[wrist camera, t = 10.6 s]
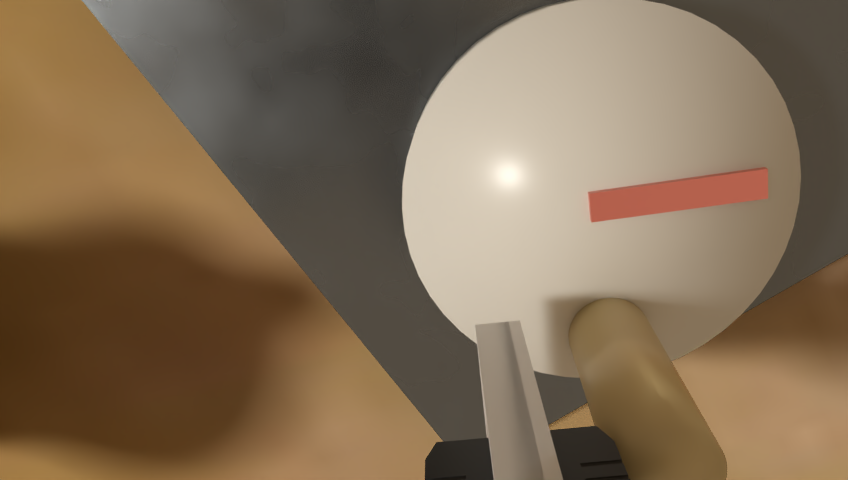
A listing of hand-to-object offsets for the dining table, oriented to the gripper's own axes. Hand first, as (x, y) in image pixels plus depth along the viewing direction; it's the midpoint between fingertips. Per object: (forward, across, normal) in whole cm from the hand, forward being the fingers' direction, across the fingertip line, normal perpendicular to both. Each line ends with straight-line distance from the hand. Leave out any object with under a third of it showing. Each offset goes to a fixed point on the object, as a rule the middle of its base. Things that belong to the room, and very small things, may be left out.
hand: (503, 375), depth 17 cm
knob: (+3, +3, +3) cm, 5 cm away
